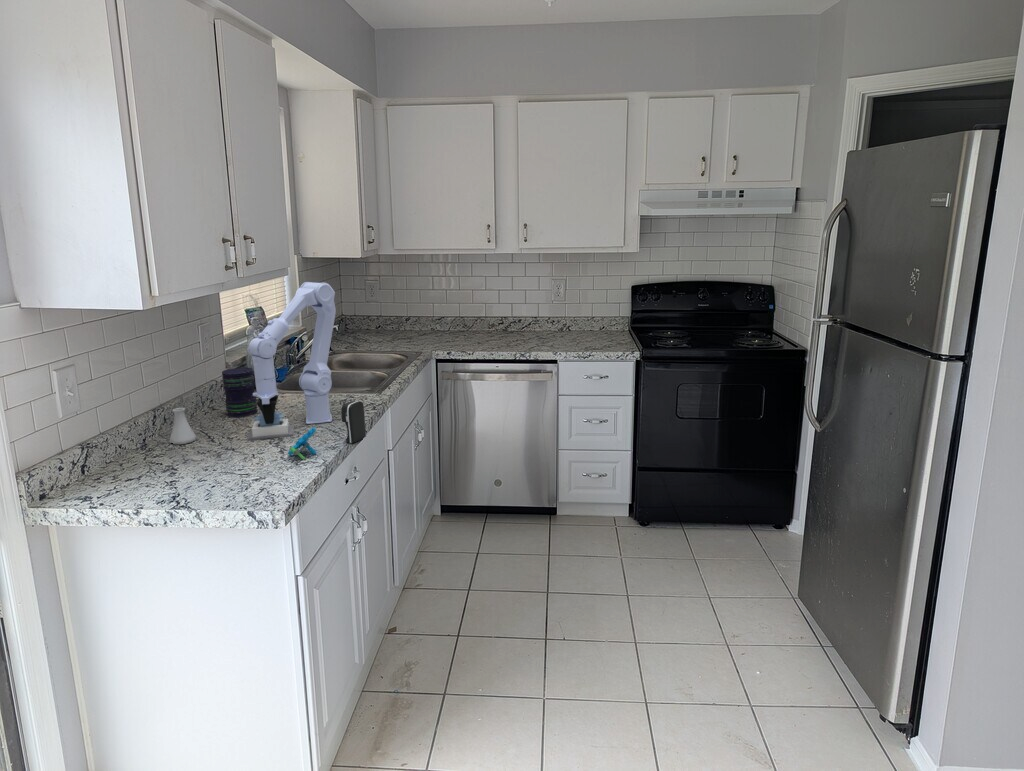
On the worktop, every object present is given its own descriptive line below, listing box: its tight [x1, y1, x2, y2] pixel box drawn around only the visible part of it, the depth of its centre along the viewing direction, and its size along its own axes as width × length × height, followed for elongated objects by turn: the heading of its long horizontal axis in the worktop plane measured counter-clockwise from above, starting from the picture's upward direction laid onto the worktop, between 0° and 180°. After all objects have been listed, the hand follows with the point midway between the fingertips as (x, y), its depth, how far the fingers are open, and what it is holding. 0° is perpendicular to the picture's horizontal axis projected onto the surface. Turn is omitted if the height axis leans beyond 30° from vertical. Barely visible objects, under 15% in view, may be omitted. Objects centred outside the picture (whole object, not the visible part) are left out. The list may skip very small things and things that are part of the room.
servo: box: [253, 410, 285, 427], centre depth 212 cm, size 4×8×4 cm, turn 105°
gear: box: [287, 426, 317, 461], centre depth 191 cm, size 11×6×10 cm
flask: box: [168, 407, 198, 445], centre depth 206 cm, size 7×7×10 cm
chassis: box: [246, 418, 295, 441], centre depth 212 cm, size 10×13×3 cm
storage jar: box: [221, 367, 258, 419], centre depth 235 cm, size 10×10×15 cm
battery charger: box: [340, 400, 367, 444], centre depth 202 cm, size 7×4×11 cm, turn 157°
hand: (270, 421), depth 212 cm, fingers closed on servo, 4 cm apart
